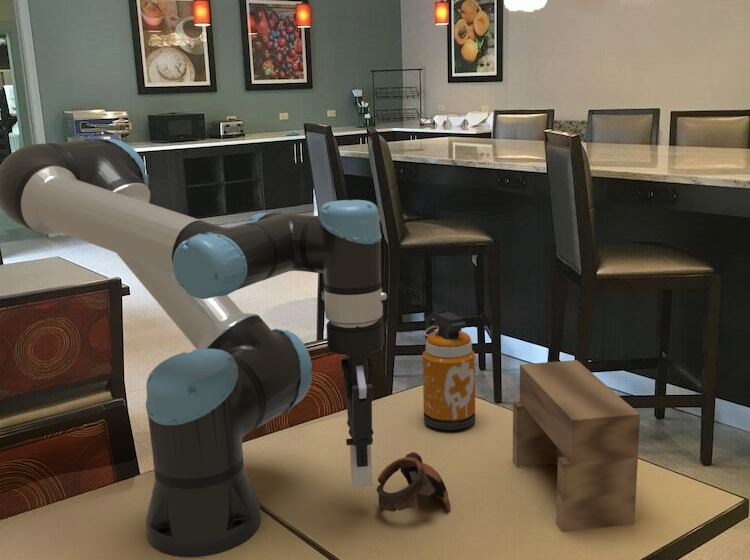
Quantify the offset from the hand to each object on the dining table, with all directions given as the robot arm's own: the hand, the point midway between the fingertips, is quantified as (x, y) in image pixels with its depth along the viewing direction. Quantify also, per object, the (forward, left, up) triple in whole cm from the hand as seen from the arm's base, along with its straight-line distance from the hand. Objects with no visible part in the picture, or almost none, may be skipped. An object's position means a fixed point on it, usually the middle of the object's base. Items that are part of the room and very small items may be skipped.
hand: (361, 483), depth 109 cm
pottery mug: (+9, +1, -6) cm, 11 cm away
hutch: (+25, 0, -5) cm, 26 cm away
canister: (+18, +28, -5) cm, 34 cm away
